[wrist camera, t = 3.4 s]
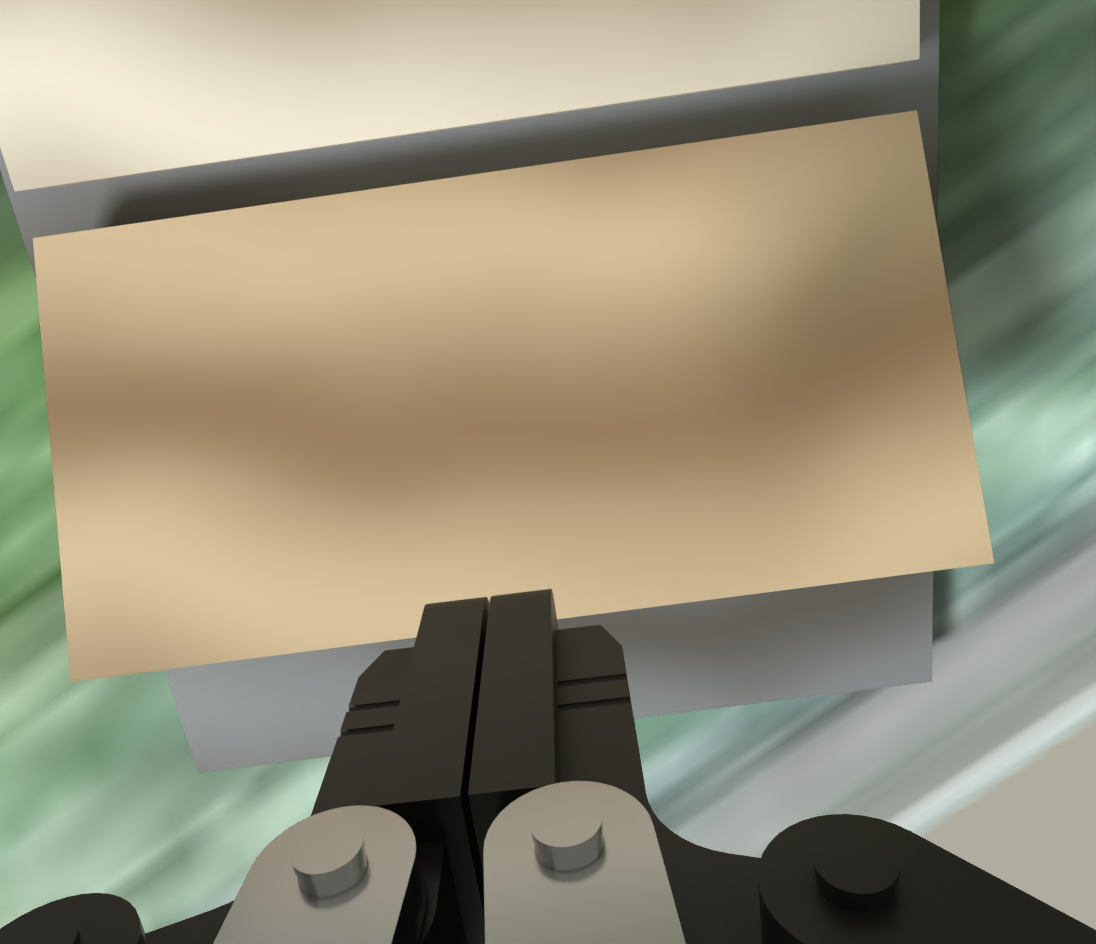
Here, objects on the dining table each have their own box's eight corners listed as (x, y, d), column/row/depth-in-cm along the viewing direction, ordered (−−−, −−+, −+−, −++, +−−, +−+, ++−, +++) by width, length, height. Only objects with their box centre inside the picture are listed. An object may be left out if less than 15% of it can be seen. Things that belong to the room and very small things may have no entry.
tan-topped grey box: (-114, -294, 16) (-241, -377, 13) (915, -463, 15) (994, -585, 13) (214, 742, 24) (174, 818, 21) (912, 654, 23) (961, 721, 20)
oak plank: (81, 264, 18) (32, 237, 17) (887, 149, 18) (916, 110, 16) (117, 669, 18) (70, 681, 16) (956, 561, 17) (994, 563, 15)
